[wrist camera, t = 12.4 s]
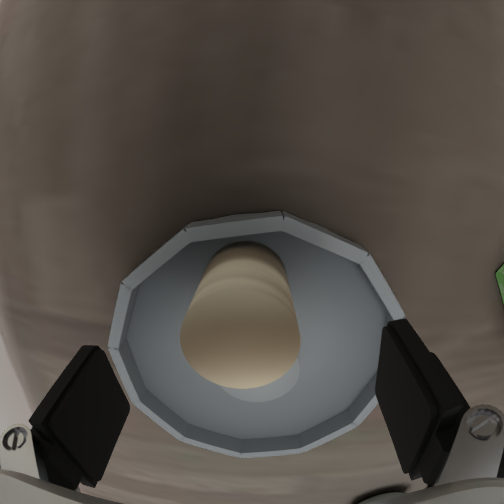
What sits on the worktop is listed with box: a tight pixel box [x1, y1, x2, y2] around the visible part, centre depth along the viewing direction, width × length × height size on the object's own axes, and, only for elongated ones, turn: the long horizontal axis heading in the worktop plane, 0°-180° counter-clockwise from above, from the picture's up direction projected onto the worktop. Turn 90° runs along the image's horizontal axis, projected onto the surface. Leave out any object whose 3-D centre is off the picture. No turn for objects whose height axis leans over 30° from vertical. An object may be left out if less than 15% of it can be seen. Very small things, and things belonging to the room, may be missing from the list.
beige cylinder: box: [180, 241, 301, 389], centre depth 16 cm, size 5×5×7 cm
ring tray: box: [108, 211, 406, 458], centre depth 20 cm, size 20×20×2 cm
